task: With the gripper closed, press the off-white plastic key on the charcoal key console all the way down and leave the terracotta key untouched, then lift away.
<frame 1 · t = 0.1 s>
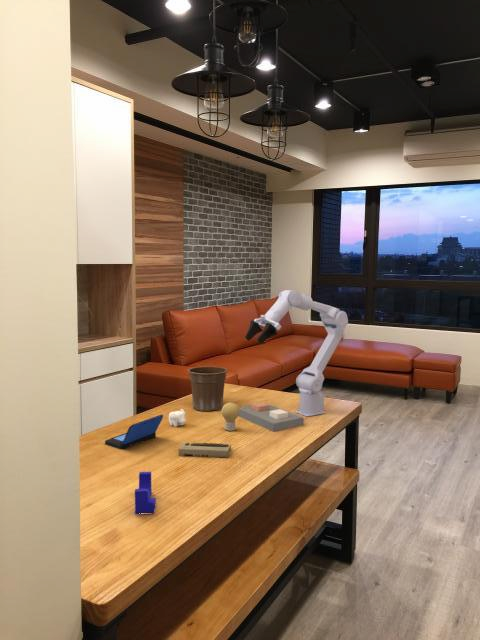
hand: (252, 340, 196), 32 cm above the table, tool tilted 50°, fingers open, 7 cm apart
computer: (205, 454, 170), on the table
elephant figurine: (176, 426, 198), on the table
key console: (269, 420, 205), on the table
cable clip: (146, 504, 134), on the table
handheld game console: (134, 443, 180), on the table
white key: (278, 424, 200), resting on key console, slide at 0.0 cm
plant pot: (207, 408, 222), on the table
light bulb: (230, 430, 193), on the table
terracotta key: (260, 416, 210), resting on key console, slide at 0.0 cm
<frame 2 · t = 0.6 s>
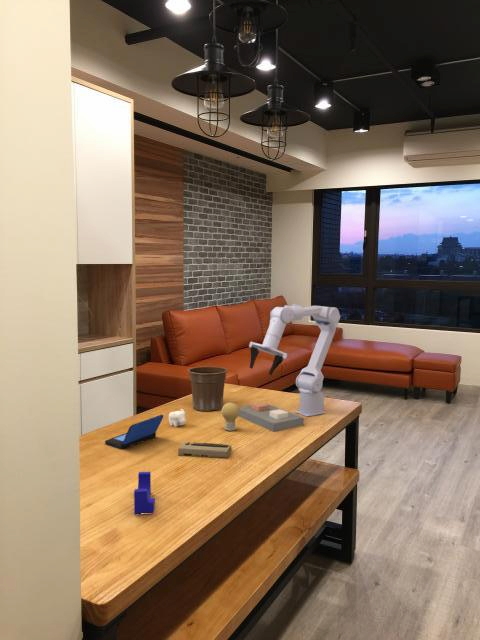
hand: (260, 371, 195), 21 cm above the table, tool tilted 25°, fingers open, 7 cm apart
nothing on the table moved.
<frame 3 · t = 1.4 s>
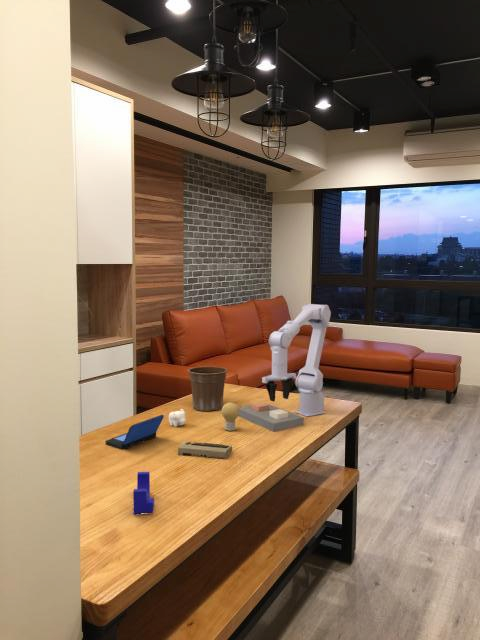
hand: (279, 399, 199), 9 cm above the table, tool pointing down, fingers open, 6 cm apart
nothing on the table moved.
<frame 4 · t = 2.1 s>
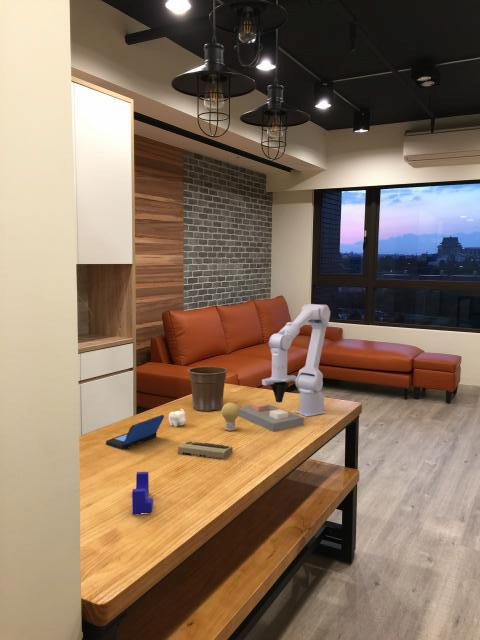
hand: (278, 401, 199), 9 cm above the table, tool pointing down, fingers closed
nothing on the table moved.
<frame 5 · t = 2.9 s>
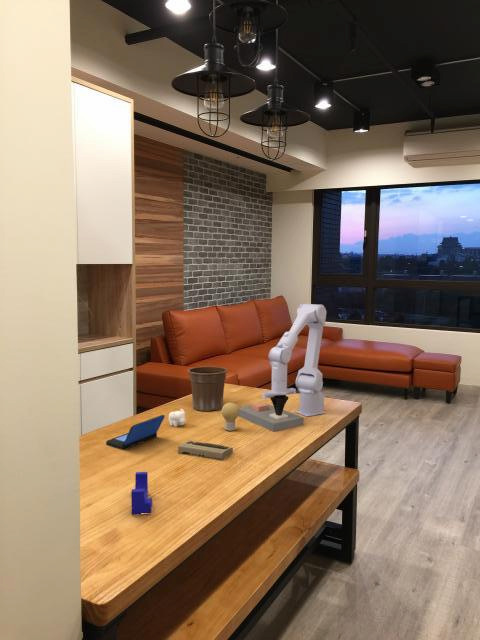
hand: (278, 414, 199), 4 cm above the table, tool pointing down, fingers closed, pressing on white key
white key: (278, 427, 200), resting on key console, slide at 1.2 cm, touching gripper
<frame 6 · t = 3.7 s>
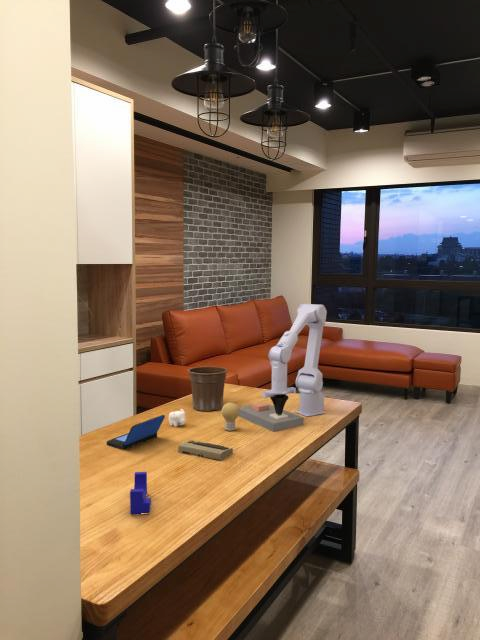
hand: (278, 414, 199), 4 cm above the table, tool pointing down, fingers closed
white key: (278, 427, 200), resting on key console, slide at 1.3 cm
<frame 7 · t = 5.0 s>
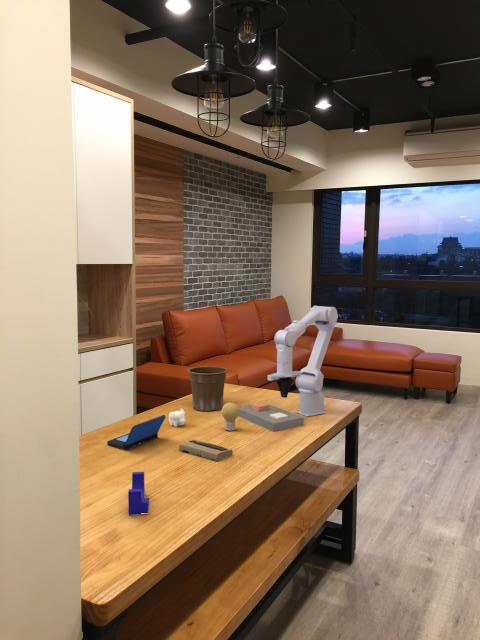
hand: (284, 397, 203), 9 cm above the table, tool pointing down, fingers closed
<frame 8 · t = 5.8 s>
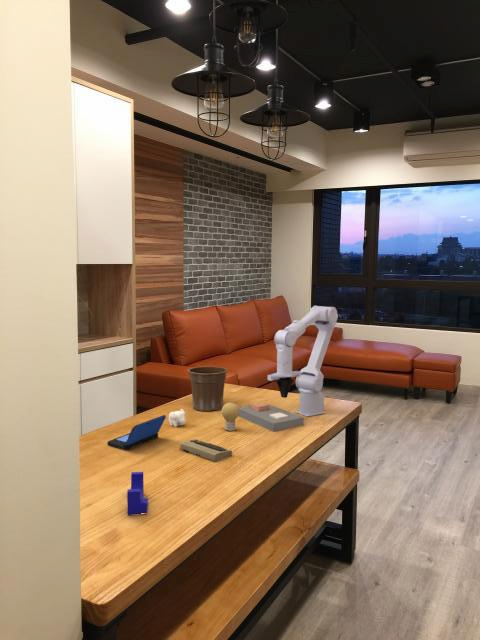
hand: (284, 397, 203), 9 cm above the table, tool pointing down, fingers closed
at the end: white key slide at 1.3 cm; terracotta key slide at 0.0 cm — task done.
